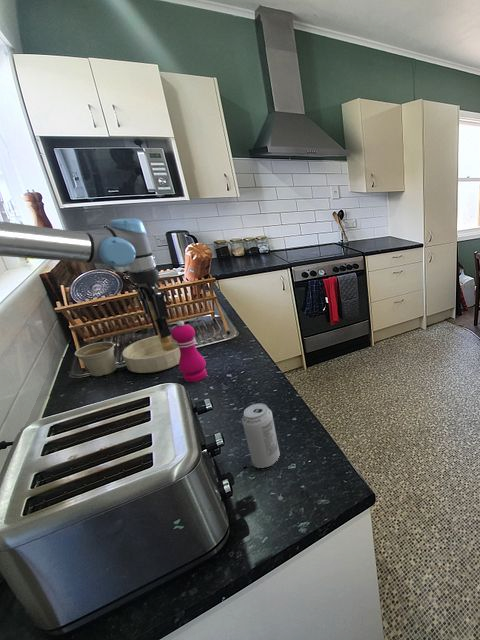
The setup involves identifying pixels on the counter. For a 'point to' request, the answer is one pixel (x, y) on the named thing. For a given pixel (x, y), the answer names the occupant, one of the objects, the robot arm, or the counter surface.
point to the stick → (164, 341)
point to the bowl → (150, 355)
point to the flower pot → (98, 358)
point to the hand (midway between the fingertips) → (163, 335)
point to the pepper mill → (189, 353)
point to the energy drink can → (260, 435)
